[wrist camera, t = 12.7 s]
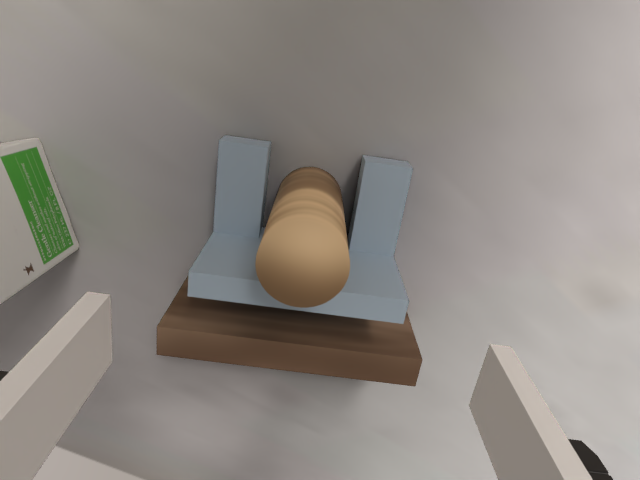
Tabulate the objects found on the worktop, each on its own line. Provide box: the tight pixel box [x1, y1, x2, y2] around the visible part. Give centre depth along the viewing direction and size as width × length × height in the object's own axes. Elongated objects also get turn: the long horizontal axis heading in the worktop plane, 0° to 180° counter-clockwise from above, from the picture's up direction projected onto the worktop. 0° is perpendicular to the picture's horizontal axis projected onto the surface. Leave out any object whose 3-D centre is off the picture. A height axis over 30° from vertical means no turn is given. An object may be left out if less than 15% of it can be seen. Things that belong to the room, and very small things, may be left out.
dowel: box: [255, 167, 350, 308], centre depth 27 cm, size 4×4×11 cm
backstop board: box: [157, 277, 422, 386], centre depth 32 cm, size 2×16×7 cm, turn 82°
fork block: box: [187, 135, 413, 324], centre depth 29 cm, size 10×12×8 cm
